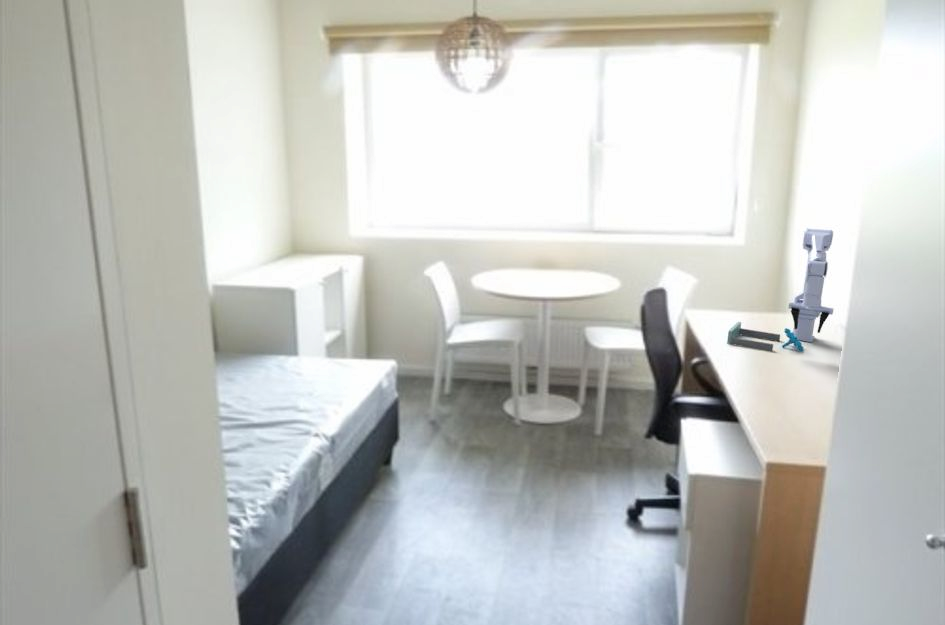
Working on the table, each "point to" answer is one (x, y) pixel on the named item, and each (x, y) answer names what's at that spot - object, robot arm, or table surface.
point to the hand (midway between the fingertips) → (807, 330)
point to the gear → (792, 340)
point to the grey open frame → (749, 343)
